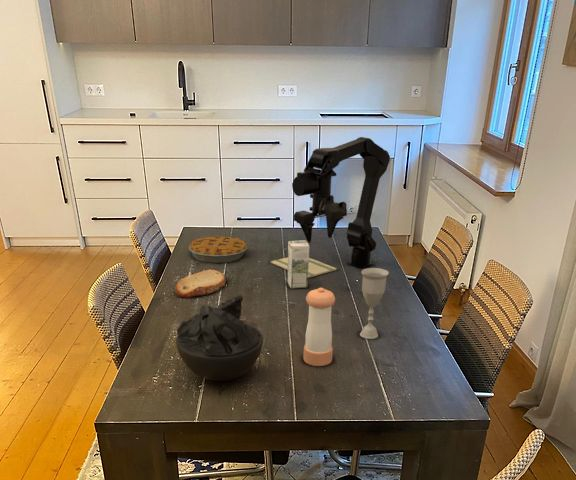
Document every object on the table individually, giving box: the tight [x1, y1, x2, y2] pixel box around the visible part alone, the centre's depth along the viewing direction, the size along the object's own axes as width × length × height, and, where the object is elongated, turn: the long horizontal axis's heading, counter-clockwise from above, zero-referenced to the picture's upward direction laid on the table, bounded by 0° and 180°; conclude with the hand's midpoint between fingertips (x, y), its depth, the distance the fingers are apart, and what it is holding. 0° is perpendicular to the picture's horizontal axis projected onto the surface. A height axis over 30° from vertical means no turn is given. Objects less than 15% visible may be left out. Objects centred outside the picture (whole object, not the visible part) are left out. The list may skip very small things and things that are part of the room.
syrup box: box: [286, 239, 310, 289], centre depth 190 cm, size 6×6×14 cm
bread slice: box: [174, 269, 227, 299], centre depth 190 cm, size 18×18×4 cm
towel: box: [270, 256, 338, 279], centre depth 210 cm, size 14×20×1 cm
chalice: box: [359, 267, 390, 340], centre depth 157 cm, size 7×7×18 cm
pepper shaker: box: [302, 287, 336, 367], centre depth 144 cm, size 7×7×19 cm
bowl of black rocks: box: [175, 294, 264, 382], centre depth 136 cm, size 20×20×19 cm
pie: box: [188, 235, 248, 264], centre depth 218 cm, size 22×22×5 cm
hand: (319, 240), depth 194 cm, fingers open, 9 cm apart
